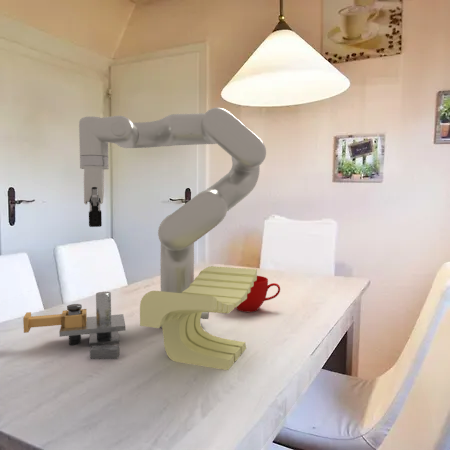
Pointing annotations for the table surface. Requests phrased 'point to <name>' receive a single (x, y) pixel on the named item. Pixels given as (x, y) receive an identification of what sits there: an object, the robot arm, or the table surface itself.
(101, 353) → the wedge bar
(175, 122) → the robot arm
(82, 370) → the table surface
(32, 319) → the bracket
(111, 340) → the grey metal fixture
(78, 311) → the pin
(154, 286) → the table surface
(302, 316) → the table surface
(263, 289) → the ceramic cup
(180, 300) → the slatted curved stool
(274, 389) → the table surface
